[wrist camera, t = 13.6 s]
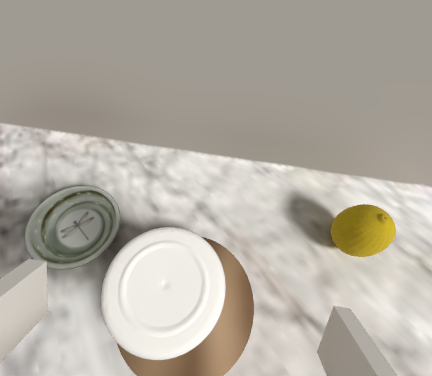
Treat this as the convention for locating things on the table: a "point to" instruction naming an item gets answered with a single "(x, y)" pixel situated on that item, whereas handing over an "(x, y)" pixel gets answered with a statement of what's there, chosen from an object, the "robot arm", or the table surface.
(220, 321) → the walnut pedestal
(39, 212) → the saucer
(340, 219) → the lemon
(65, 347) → the table surface
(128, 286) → the sprinkles bottle
